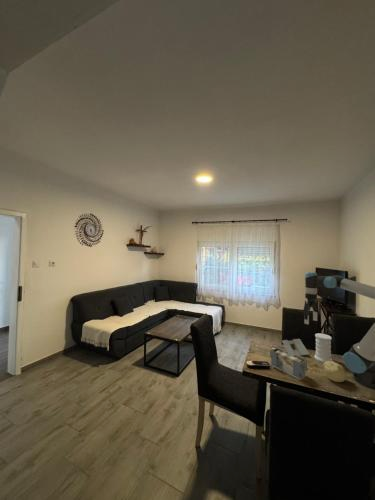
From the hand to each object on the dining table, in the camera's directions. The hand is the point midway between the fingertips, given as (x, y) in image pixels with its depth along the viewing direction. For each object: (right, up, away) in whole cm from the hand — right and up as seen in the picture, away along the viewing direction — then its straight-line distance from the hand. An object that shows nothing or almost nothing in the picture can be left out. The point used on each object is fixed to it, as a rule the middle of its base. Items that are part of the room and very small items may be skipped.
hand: (311, 322), depth 154 cm
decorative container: (+15, -32, +9) cm, 37 cm away
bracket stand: (-21, -31, -8) cm, 38 cm away
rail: (-21, -26, -8) cm, 34 cm away
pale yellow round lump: (+5, -32, -17) cm, 36 cm away
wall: (-2, -32, +19) cm, 38 cm away
